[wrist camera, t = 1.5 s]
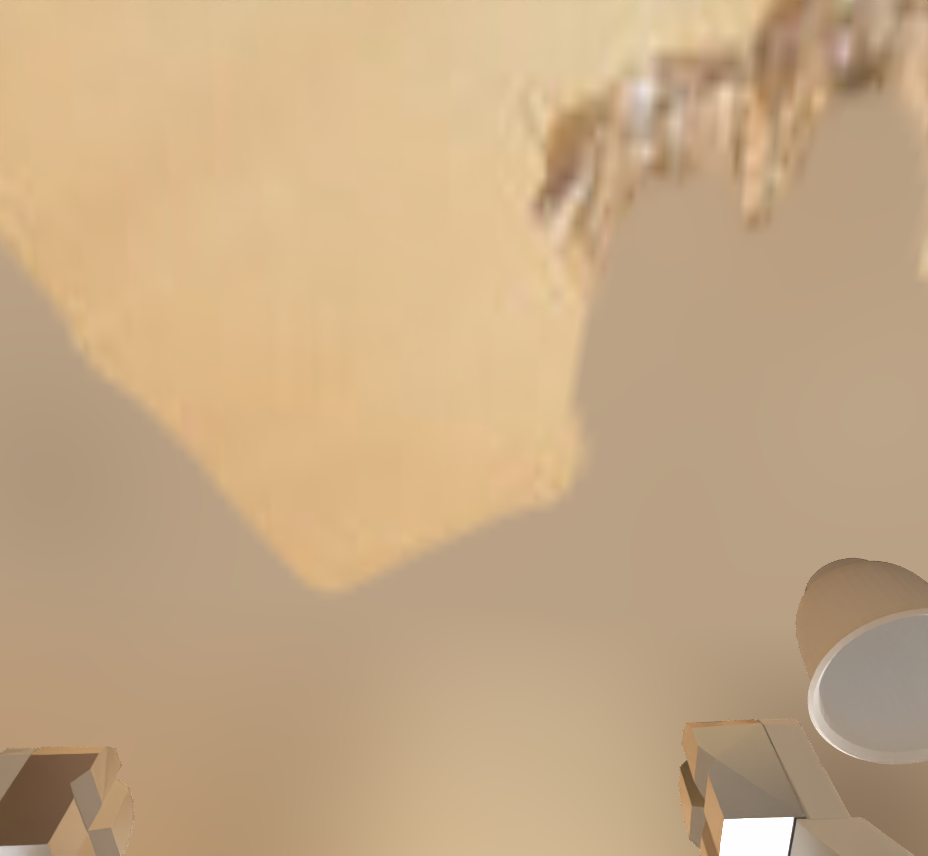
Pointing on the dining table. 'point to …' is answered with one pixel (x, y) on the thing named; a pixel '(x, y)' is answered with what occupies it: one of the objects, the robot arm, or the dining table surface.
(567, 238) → the dining table surface
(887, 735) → the teacup
